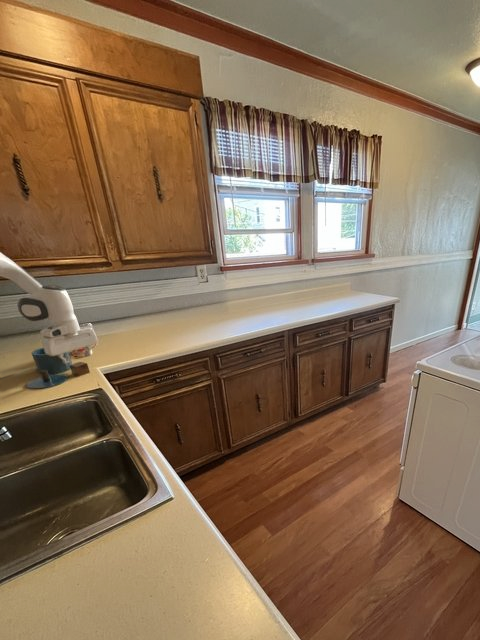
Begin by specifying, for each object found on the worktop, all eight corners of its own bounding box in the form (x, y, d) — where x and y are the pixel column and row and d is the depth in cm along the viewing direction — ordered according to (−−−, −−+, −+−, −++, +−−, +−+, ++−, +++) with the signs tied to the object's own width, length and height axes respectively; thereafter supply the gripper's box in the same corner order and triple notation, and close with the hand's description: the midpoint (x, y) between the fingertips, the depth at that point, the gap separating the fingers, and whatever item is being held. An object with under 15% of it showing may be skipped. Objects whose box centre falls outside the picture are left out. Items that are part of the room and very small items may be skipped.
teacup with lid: (72, 358, 160) (64, 335, 154) (72, 353, 166) (64, 331, 161) (100, 354, 166) (93, 331, 160) (98, 349, 172) (92, 328, 167)
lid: (39, 393, 125) (34, 379, 123) (20, 386, 131) (14, 373, 128) (75, 380, 136) (70, 367, 133) (56, 374, 141) (51, 362, 139)
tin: (53, 378, 137) (45, 357, 133) (30, 371, 145) (21, 351, 140) (82, 369, 147) (76, 349, 143) (59, 362, 155) (52, 343, 150)
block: (79, 377, 139) (76, 366, 137) (72, 375, 141) (69, 365, 138) (90, 373, 143) (87, 363, 140) (83, 371, 144) (80, 361, 142)
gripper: (86, 321, 142) (96, 351, 148) (35, 332, 126) (48, 366, 132) (95, 322, 139) (104, 353, 146) (44, 334, 123) (57, 368, 129)
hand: (77, 359), depth 139 cm, fingers open, 8 cm apart
